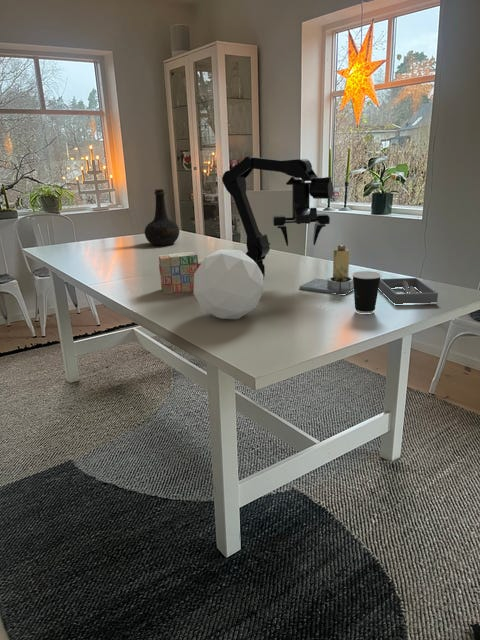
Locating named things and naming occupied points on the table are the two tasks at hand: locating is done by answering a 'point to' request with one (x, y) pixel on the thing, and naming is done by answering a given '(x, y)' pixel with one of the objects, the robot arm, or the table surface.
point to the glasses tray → (424, 297)
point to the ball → (228, 284)
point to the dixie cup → (365, 290)
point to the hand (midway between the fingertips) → (300, 245)
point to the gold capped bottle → (340, 264)
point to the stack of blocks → (178, 271)
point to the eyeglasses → (405, 286)
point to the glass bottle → (161, 224)
